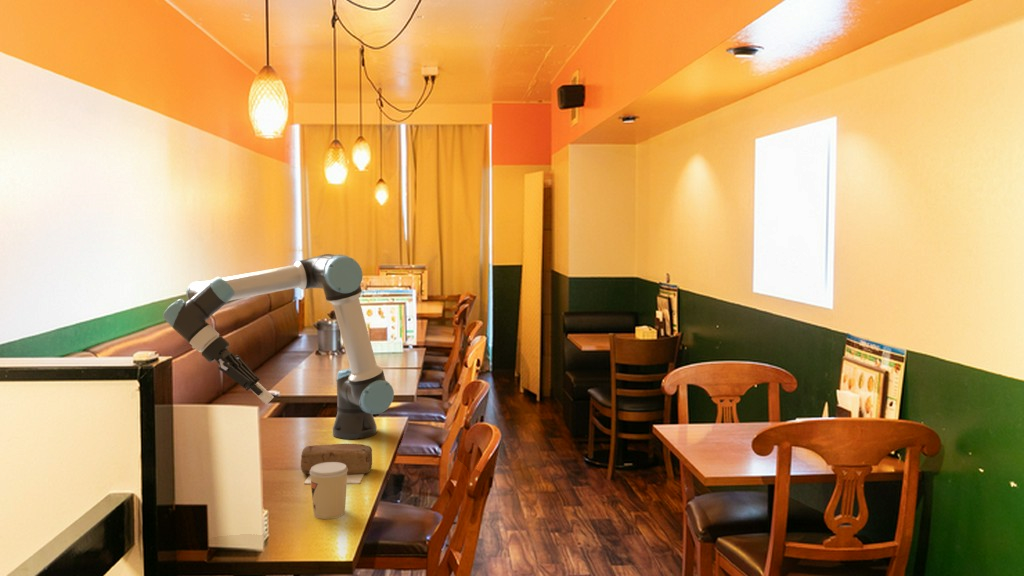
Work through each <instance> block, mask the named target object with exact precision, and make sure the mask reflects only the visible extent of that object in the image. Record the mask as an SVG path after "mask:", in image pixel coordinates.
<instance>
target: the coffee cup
mask: <svg viewBox="0 0 1024 576" xmlns="http://www.w3.org/2000/svg"><path fill="white" fill-rule="evenodd" d="M347 471H348V468H347V467H346V465H345V464H343V463H339V462H325V463H320V464H316V465H314V466H312V467H311V470H310V474H309V475H310V476H311V484H310V487H311V498H312V499H311V500H312V510H313V515H314V517H315V518H317V519H321V520H331V519H336V518H340V517H342V516H343V515H345V513H346V498H347Z"/></svg>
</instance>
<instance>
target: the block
mask: <svg viewBox="0 0 1024 576" xmlns="http://www.w3.org/2000/svg"><path fill="white" fill-rule="evenodd" d="M325 462H339V463H343V464H345V465H346V467H347V468H348V471H347V474H360V473H365V474H367V473H370V471H371V470H372V466H373V449H372V447H371V446H370V445H366V444H360V443H331V444H321V445H318V444H317V445H308V446H307V445H306V446H305V447H304V448H303V449H302V451H301V459H300V470H301V472H302V474H304V475H310V470H311V467H312V466H314V465H316V464H320V463H325Z"/></svg>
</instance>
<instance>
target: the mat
mask: <svg viewBox="0 0 1024 576" xmlns="http://www.w3.org/2000/svg"><path fill="white" fill-rule="evenodd" d="M365 474H366V473H360V474H347V484H348V485H349V484H350V485H351V484H352V485H359V484H361V482H362V480H363V478H364V476H365ZM303 484H304V485H311V476H310V474H308V477H307V478H306V479H305V480H304V483H303Z"/></svg>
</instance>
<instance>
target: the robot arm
mask: <svg viewBox="0 0 1024 576" xmlns="http://www.w3.org/2000/svg"><path fill="white" fill-rule="evenodd" d="M362 282H363V270H362V267H361V265H360V263H358V262H357V260H355V259H354V258H352V257H350V256H348V255H346V254H345V255H344V254H331V253H328V254H327V253H325V254H321V255H317V256H313V257H309V258H306V259H302V260H296V261H295V263H294V264H292V265H291V264H290V265H285V266H281V267H275V268H269V269H263V270H259V271H258V270H257V271H252V272H247V273H242V274H236V275H231V276H226V277H225V276H224V277H220V276H216V277H215V278H213V279H210V280H197V281H193V282H192V283H190V284H189V285H188V286H187V288H186V293H185V295H186V299H187V301H186V300H184V299H183V298H179V299H177V300H175V301H174V302H172V303H171V304H170V305H169V306H167V308H166V309H165V310H164V311H163V314H162V316H163V319H164V321H166V323H167V324H168V325H169V326H171V328H172V329H173V330H174V331H176V333H178V334H179V336H181V337H182V338H183V339H184V340H186V342H187V343H189V344H190V345H191V349H193V350H194V349H195V350H196V351H197V352H198V353H201V356H202V357H203V358H204V359H206V361H208V363H213V362H215V361H216V363H217V364H218V365H219V367H218V370H219V371H221V372H222V373H224V374H225V375H227V376H228V377H229V378H230V379H232V380H233V381H235V382H236V383H238V385H240V386H241V387H242V388H243V389H245V392H248V391H249V390H250V391H251V392H252V393H253V394H254V395H256V397H257V398H258V399H259V400H261V401H262V403H263V404H265V405H268V404H269V403H270V402H271V401H272V400H273V399H275V397H274V396H273V395H272V393H271V392H270V391H269V390H267V389H266V388H265V387H264V386H263V385H262V384H261V383H260V382H259V381H260V377H258V376H257V375H256V374H255V373H254V372H253V371H252V369H251V368H250V367H249V366H248V365H247V364H246V363H245V362H244V360H243V358H241V356H240V355H239V354H234V353H233V352H231V351H229V350H228V348H229V347H230V343H229V342H228V341H227V340H226V339H225V338H224V337H223V336H220V333H219V332H217V330H216V329H215V328H213V326H212V325H211V324H209V323H208V322H207V320H209V318H211V317H212V316H213V315H214V314H216V313H217V312H218V311H219V310H220V309H221V308H222V307H223V306H225V305H226V304H227V303H229V302H231V301H236V300H241V299H246V298H251V297H255V296H260V295H267V294H271V293H276V292H277V293H278V292H281V291H286V290H287V291H288V290H292V289H297V288H299V289H301V290H302V291H303V290H309V289H323V293H324V296H325V300H326V302H328V303H330V304H331V305H332V306H333V310H334V315H335V318H336V322H337V325H338V328H339V329H338V330H339V332H340V336H341V339H342V343H343V346H344V350H345V354H346V357H347V362H348V365H349V368H346V369H340V370H339V371H337V374H336V375H337V376H336V398H337V401H336V402H337V411H336V412H337V414H336V416H335V420H334V423H333V425H332V436H333V437H335V438H337V439H343V440H359V439H358V438H360V439H366V438H369V437H372V436H375V435H376V434H377V433H378V432H377V431H378V430H377V428H378V427H377V423H376V421H375V418H374V415H379V414H382V413H383V412H385V411H387V410H388V409H389V408H390V406H391V404H392V402H393V401H394V398H395V397H394V396H395V392H394V389H393V386H392V385H391V384H390V382H388V381H387V380H386V377H385V373H384V369H383V367H381V366H379V365H377V361H376V357H375V354H374V350H373V346H372V343H371V337H370V334H369V331H368V327H367V324H366V323H367V322H366V321H365V316H364V312H363V308H362V305H361V301H360V295H362V293H363V290H362V286H361V283H362ZM365 437H366V438H365Z"/></svg>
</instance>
